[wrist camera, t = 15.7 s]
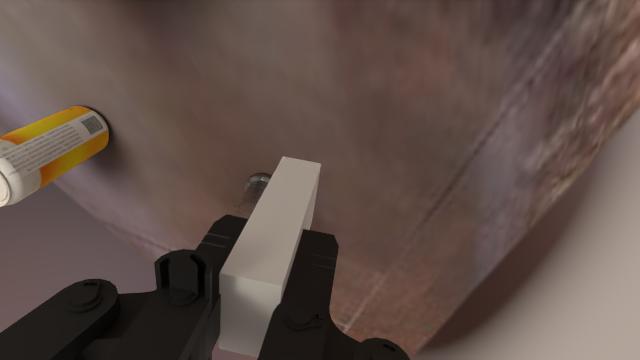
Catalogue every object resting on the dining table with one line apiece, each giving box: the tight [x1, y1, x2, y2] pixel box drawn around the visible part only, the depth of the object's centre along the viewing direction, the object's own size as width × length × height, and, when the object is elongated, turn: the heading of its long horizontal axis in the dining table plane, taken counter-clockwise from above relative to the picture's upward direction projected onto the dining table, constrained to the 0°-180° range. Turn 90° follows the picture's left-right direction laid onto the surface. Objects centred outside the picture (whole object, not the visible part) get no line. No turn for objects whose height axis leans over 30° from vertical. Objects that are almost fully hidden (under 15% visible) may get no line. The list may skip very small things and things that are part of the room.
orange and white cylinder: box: [0, 106, 109, 207], centre depth 42 cm, size 6×6×15 cm
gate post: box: [231, 173, 272, 219], centre depth 40 cm, size 5×5×21 cm
